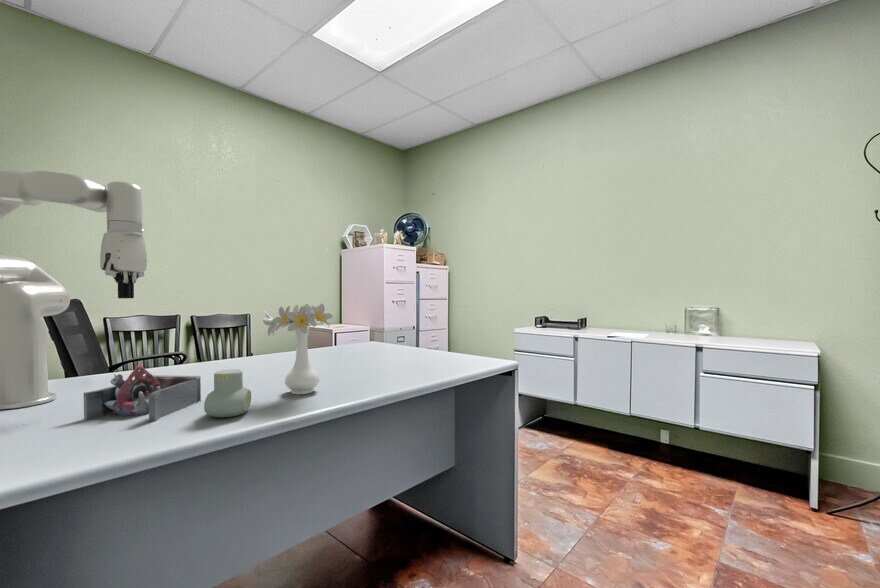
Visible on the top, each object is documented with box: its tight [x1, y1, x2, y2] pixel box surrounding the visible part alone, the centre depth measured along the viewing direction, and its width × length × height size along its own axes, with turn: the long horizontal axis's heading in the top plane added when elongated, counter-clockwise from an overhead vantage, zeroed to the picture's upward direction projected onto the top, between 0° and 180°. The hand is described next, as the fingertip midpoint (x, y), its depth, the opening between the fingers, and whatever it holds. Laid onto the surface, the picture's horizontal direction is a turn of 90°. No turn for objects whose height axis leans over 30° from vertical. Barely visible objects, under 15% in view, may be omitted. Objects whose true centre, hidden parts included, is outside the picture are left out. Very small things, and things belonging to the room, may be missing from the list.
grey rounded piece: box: [203, 368, 252, 419], centre depth 93 cm, size 11×8×10 cm
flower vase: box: [262, 303, 334, 396], centre depth 112 cm, size 13×18×25 cm
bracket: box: [83, 374, 202, 422], centre depth 97 cm, size 17×16×7 cm
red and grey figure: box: [104, 364, 160, 416], centre depth 97 cm, size 11×11×12 cm
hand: (125, 298), depth 107 cm, fingers closed
